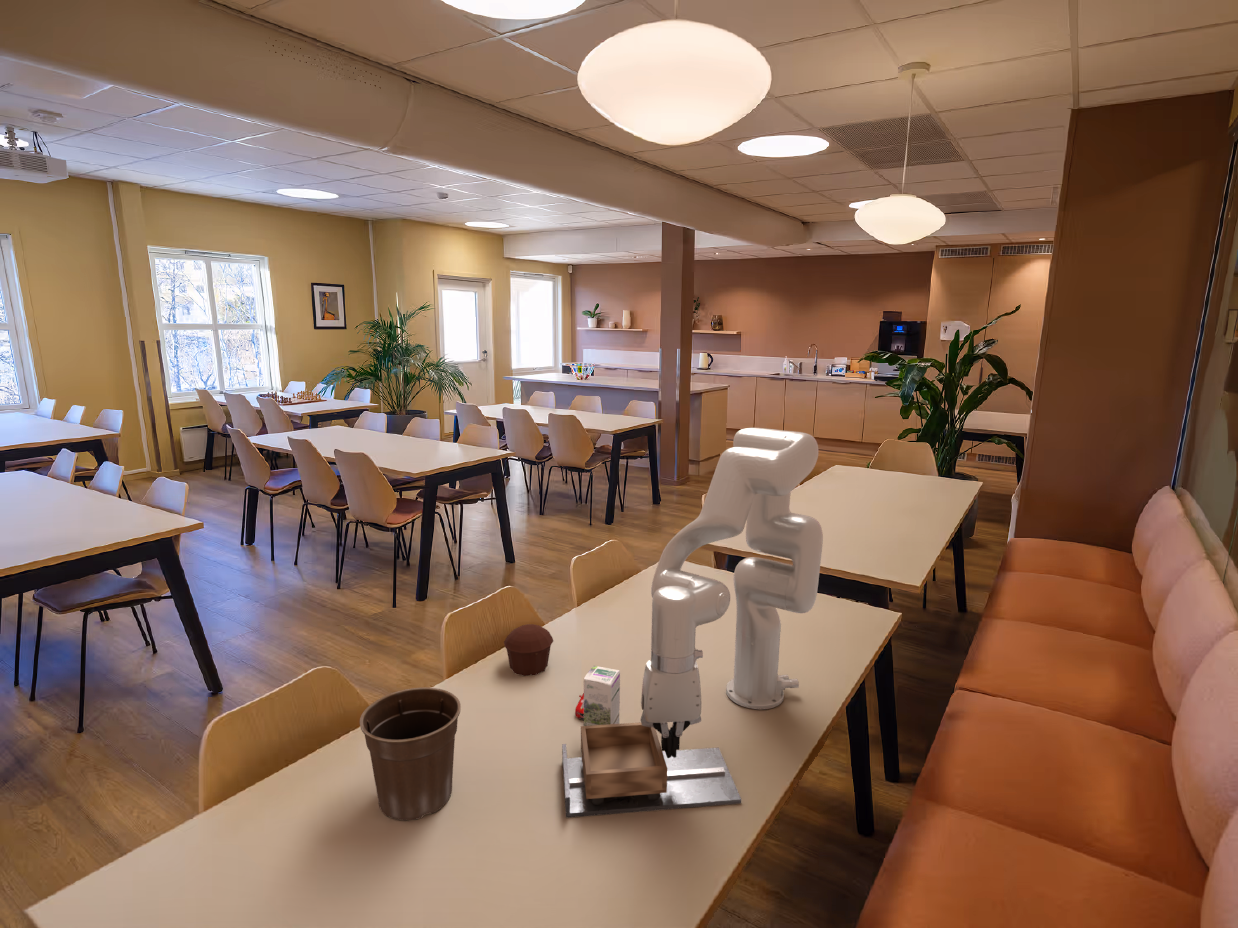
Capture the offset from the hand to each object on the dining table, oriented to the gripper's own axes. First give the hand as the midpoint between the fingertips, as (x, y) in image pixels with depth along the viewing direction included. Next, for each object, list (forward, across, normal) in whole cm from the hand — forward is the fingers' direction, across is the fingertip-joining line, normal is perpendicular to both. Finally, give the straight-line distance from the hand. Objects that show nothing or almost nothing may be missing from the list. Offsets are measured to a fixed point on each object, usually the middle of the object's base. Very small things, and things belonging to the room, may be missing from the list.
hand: (670, 752), depth 117 cm
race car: (+6, +11, -26) cm, 29 cm away
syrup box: (+6, +11, -13) cm, 18 cm away
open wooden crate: (+6, +9, 0) cm, 10 cm away
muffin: (+6, +25, -44) cm, 51 cm away
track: (+6, +4, 0) cm, 7 cm away
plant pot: (+6, +44, -1) cm, 45 cm away
